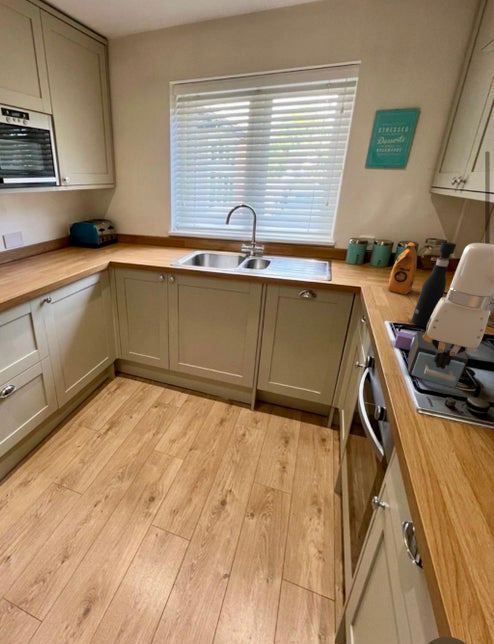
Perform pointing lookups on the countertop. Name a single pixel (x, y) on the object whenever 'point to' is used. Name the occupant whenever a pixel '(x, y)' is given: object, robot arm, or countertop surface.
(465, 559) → the countertop surface
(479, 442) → the countertop surface
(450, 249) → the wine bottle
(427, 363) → the drawer
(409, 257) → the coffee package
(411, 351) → the compartment
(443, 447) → the countertop surface
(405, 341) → the lavender cube
